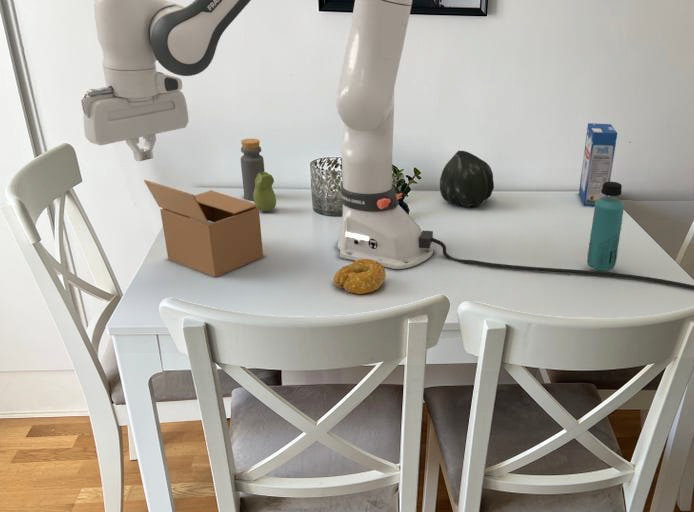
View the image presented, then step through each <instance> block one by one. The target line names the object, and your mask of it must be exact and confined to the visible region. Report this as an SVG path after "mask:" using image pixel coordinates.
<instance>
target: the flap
mask: <svg viewBox="0 0 694 512" xmlns="http://www.w3.org/2000/svg"><path fill="white" fill-rule="evenodd" d="M143 181H144V183H145V186H146V187H147V189H148V191H149V192H150V194H151V196H152V197H153V199H154V201H155V202H156V204H157V207H159V208H161V209H163V208H164V209H167V210H170V211H173V212H176V213H179V214H182V215H185V216H188V217H191V218H194V219H197V220H200V221H203V222H206V223H207V222H208V221H207V219H206V217H205V215H204V213H203V211H202V209H201V207H200V206H199V204H198V202H197V200H196V198H195V196H194V195H195V194H192V193H189V192H185V191H183V190H179V189H176V188H173V187H170V186H167V185H163V184H159V183H157V182H154V181H150V180H147V179H144V180H143Z"/></svg>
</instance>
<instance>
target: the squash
mask: <svg viewBox="0 0 694 512" xmlns="http://www.w3.org/2000/svg"><path fill="white" fill-rule="evenodd" d="M494 189H495V184H494V173H493V171H492V168H491V166H490V165H489V164H488V163H487V162H486V161H485V160H483V159H481V158H480V157H478V156H477V155H475V154H473V153H472V152H468V151H465V150H457V151H456V152H455V153H454V155H453V156H452V157H451V158H450V159H449V160H448V161H447V163H446V164H445V165H444V167H443V169H442V171H441V175H440V177H439V191H440V195H441V197H442V199H444V201H446V202H448V203H450V204H451V205H454V206H461V205H462V206H463V207H465V208H469V207H471V206H474V207H478V206H479V207H480V206H482V205H483V204H484V202H485V201H486V200H488V199H490V197H492V194H493V190H494Z"/></svg>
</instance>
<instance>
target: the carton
mask: <svg viewBox="0 0 694 512" xmlns="http://www.w3.org/2000/svg"><path fill="white" fill-rule="evenodd" d="M193 195H194V196H195V198H196V200H197V202H198V204H199V206H200V207H201V209H202V211H203V213H204V215H205V217H206V219H207V221H211V222H214V223H211V224H206V223H203V222H200V221H197V220H194V219H191V218H189V217H188V216H185V215H182V214H179V213H176V212H173V211H170V210H167V209H164V208H161V209H159V211H160V217H161V223H162V229H163V236H164V241H165V248H166V254H167V259H168V261H171V262H174V263H175V264H176V263H177V264H179V265H182V266H184V267H187V268H190V269H193V270H194V271H199V272H200V273H203V274H205V275H208V276H211V277H213V278H217V277H219V276H221V275H224V274H226V273H228V272H231V271H233V270H235V269H238V268H240V267H243V266H245V265H248V264H250V263H252V262H254V261H257V260H260V259H261V258H264V250H263V238H262V228H261V218H260V210H259V208H258V207H256V206H258V204H255V203H254V202H250V201H249V200H244V199H241V198H237V197H234V196H231V195H228V194H224V193H221V192H219V191H218V192H217V191H214V190H208V191H204V192H202V193H199V194H193Z"/></svg>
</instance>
